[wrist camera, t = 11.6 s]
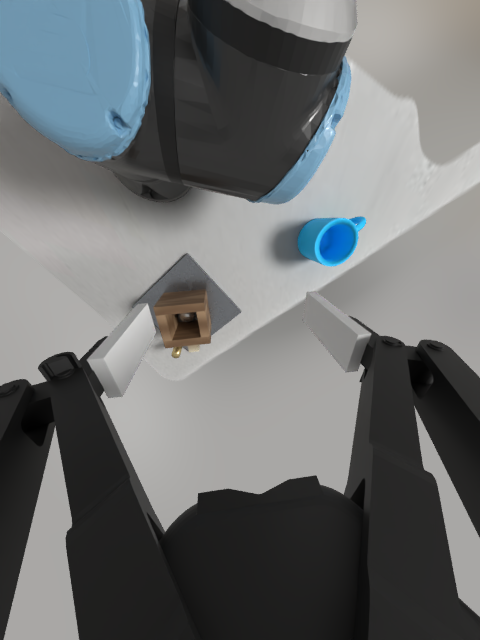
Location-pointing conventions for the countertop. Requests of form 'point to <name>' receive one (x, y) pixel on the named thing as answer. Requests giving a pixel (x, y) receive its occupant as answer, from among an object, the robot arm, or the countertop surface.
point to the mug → (330, 239)
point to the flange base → (192, 278)
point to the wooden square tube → (184, 331)
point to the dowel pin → (176, 352)
